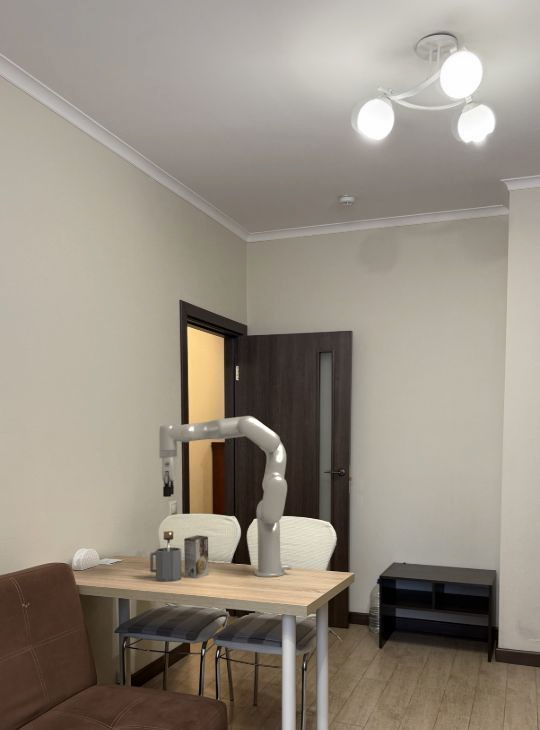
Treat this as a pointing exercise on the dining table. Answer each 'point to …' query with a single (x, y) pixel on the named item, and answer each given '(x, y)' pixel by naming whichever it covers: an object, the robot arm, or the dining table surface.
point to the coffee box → (196, 556)
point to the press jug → (167, 564)
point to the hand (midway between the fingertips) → (168, 495)
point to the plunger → (168, 538)
